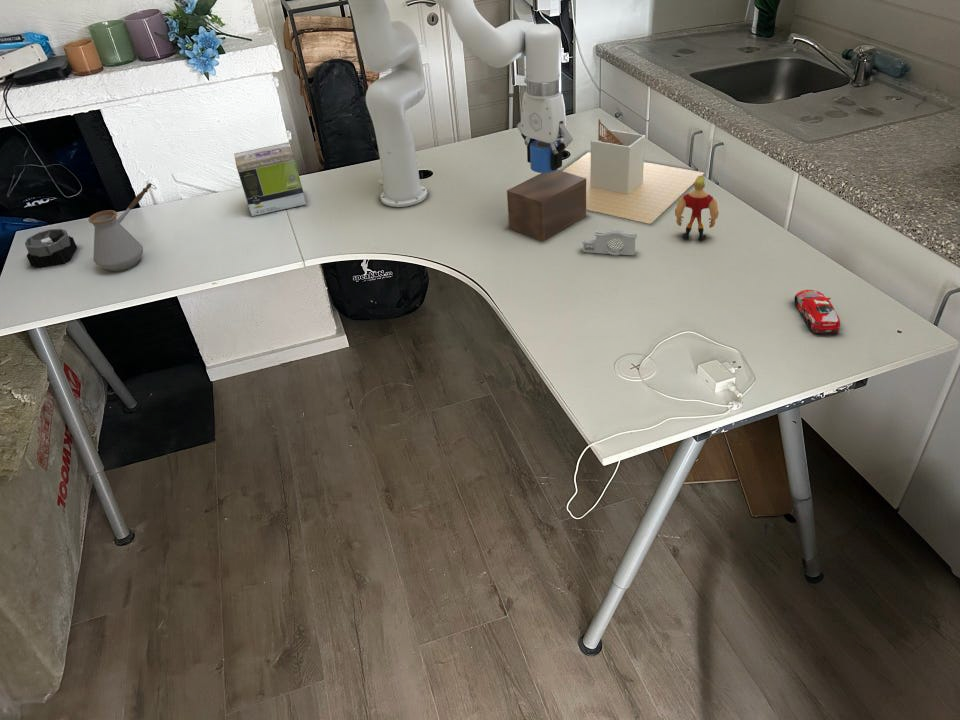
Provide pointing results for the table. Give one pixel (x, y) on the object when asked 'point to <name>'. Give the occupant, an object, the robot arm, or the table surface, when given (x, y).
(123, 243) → the coffee pot
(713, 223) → the action figure
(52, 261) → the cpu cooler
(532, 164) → the tape
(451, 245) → the table surface
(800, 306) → the race car
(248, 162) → the tea box
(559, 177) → the brown boxy piece
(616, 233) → the lattice window wall
